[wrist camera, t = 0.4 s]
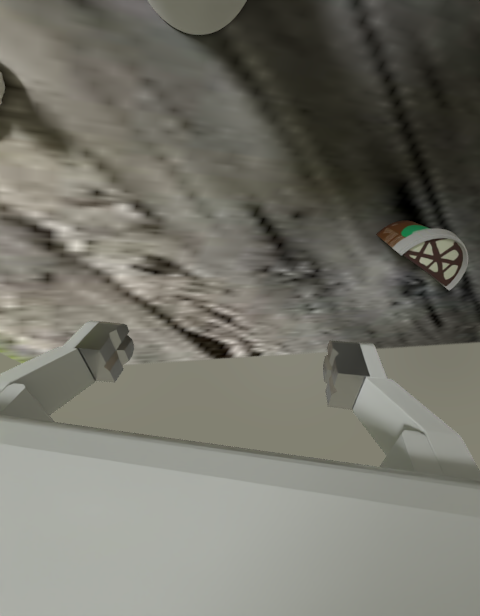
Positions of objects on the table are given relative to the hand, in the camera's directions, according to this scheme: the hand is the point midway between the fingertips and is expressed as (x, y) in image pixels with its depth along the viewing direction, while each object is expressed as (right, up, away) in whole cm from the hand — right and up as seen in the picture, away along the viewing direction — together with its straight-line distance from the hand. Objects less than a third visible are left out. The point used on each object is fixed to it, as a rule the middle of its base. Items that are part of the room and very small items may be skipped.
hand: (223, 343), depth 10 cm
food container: (+30, +15, +35) cm, 48 cm away
